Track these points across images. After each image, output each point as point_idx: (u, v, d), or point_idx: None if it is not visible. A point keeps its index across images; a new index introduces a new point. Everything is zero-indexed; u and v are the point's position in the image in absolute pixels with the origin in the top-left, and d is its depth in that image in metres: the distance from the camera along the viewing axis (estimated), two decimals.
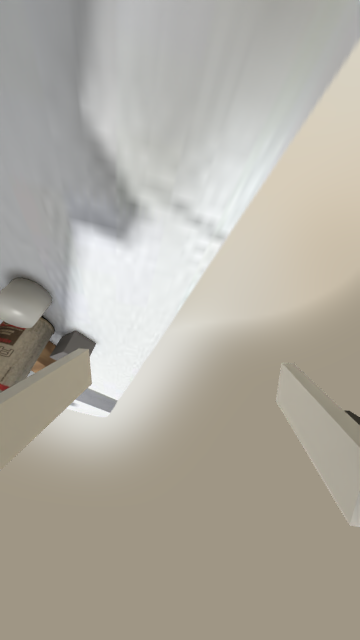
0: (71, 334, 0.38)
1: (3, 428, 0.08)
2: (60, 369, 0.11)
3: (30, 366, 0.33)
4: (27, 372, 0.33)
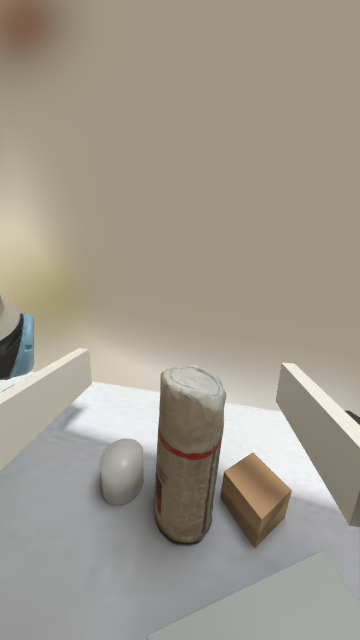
0: None
1: (3, 428, 0.08)
2: (60, 369, 0.11)
3: None
4: None
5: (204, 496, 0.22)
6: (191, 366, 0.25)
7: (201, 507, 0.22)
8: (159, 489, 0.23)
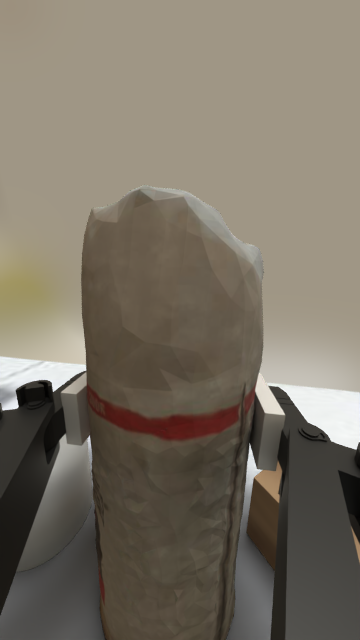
0: None
1: (84, 409, 0.09)
2: None
3: None
4: None
5: (219, 552, 0.07)
6: None
7: (212, 585, 0.08)
8: (97, 536, 0.09)
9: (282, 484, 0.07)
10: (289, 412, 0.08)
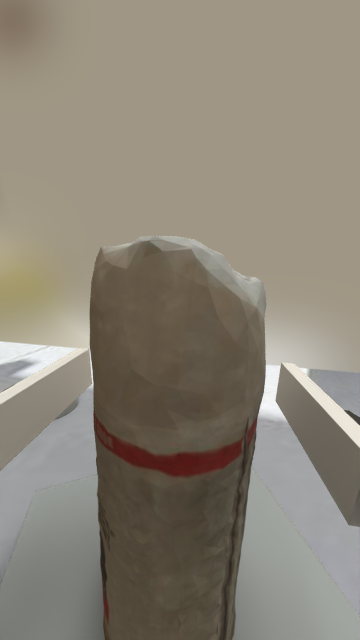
0: None
1: (4, 428, 0.08)
2: (60, 369, 0.11)
3: None
4: None
5: (222, 577, 0.08)
6: None
7: (214, 608, 0.08)
8: (102, 558, 0.09)
9: None
10: None
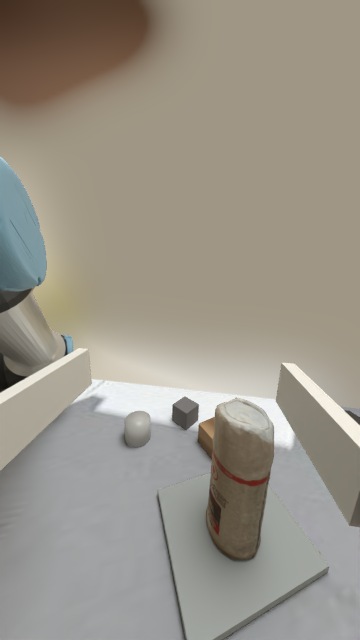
0: (174, 419, 0.52)
1: (3, 428, 0.08)
2: (60, 369, 0.11)
3: None
4: None
5: (259, 516, 0.25)
6: (237, 399, 0.29)
7: (257, 526, 0.25)
8: (217, 512, 0.26)
9: None
10: None
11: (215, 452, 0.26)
